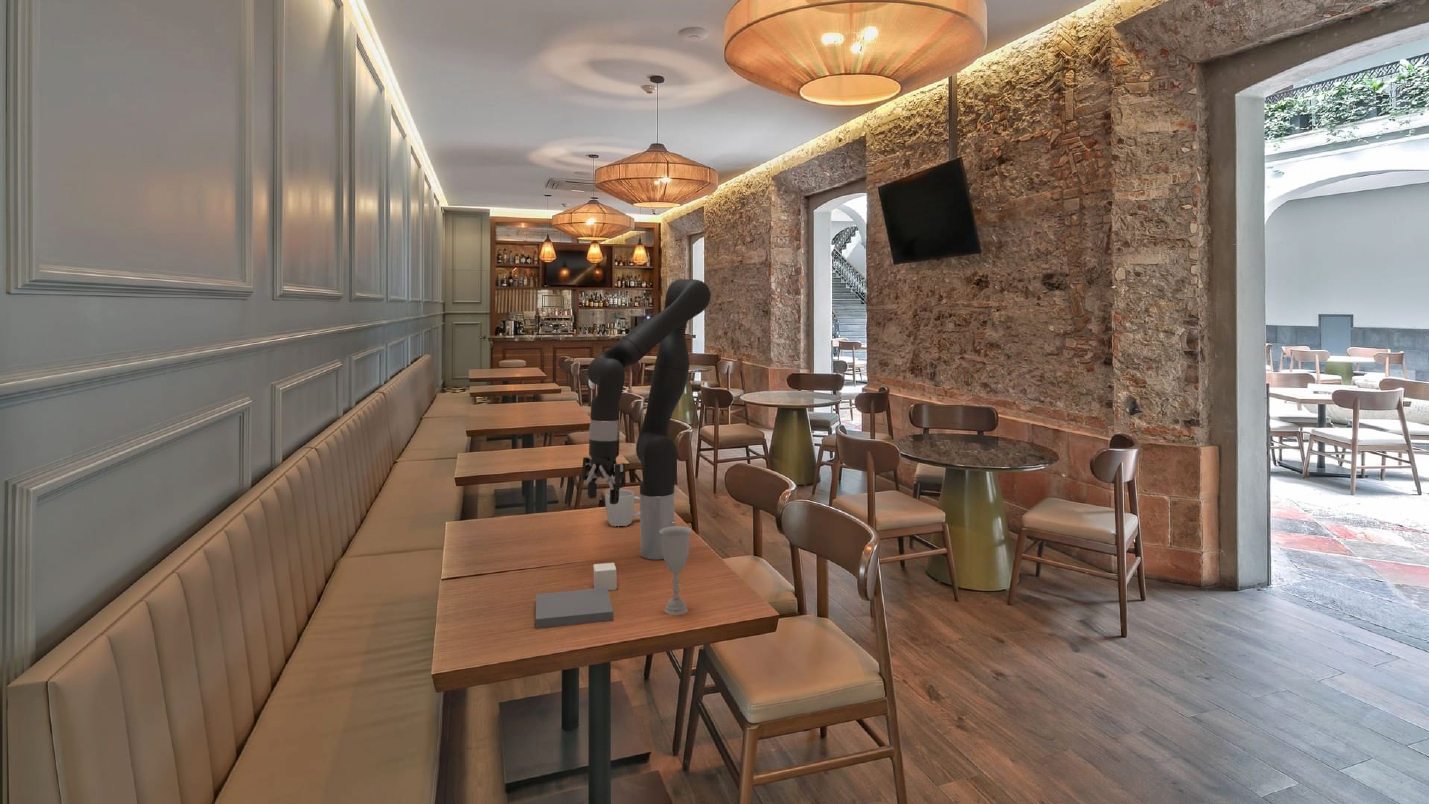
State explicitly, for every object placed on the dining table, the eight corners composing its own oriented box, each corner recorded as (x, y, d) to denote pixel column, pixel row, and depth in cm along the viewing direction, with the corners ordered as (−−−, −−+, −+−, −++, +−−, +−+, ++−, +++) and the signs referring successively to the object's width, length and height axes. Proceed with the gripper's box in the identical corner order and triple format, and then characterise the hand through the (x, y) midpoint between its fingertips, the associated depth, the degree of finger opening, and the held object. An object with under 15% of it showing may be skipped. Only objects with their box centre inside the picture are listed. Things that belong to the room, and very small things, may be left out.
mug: (612, 530, 217) (612, 498, 216) (601, 523, 225) (600, 491, 224) (650, 523, 224) (649, 492, 223) (638, 517, 232) (637, 486, 230)
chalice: (679, 619, 153) (678, 537, 151) (653, 612, 156) (652, 532, 154) (698, 607, 159) (697, 529, 157) (673, 601, 162) (672, 524, 160)
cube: (614, 582, 175) (614, 562, 174) (616, 589, 170) (616, 569, 169) (593, 584, 174) (593, 564, 173) (595, 591, 169) (594, 571, 168)
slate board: (607, 595, 166) (607, 587, 166) (613, 620, 152) (613, 611, 152) (536, 602, 162) (536, 594, 162) (536, 628, 149) (535, 619, 148)
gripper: (634, 439, 178) (632, 503, 179) (597, 433, 187) (596, 494, 189) (611, 442, 172) (609, 508, 174) (574, 435, 182) (573, 498, 183)
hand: (602, 500), depth 181 cm, fingers open, 8 cm apart
